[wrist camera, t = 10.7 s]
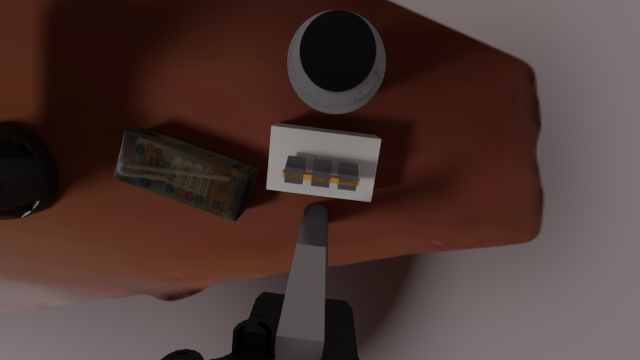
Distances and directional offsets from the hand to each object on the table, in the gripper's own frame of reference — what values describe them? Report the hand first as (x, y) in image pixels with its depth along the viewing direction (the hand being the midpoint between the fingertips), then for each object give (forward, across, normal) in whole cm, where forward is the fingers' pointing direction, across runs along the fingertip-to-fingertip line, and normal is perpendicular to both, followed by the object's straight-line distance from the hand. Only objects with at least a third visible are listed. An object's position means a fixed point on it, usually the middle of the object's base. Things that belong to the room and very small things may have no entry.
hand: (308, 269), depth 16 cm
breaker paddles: (+28, 0, 0) cm, 28 cm away
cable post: (+34, 0, -10) cm, 36 cm away
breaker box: (+34, 0, 0) cm, 34 cm away
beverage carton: (+35, -20, -4) cm, 40 cm away
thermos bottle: (+35, 0, +12) cm, 36 cm away
